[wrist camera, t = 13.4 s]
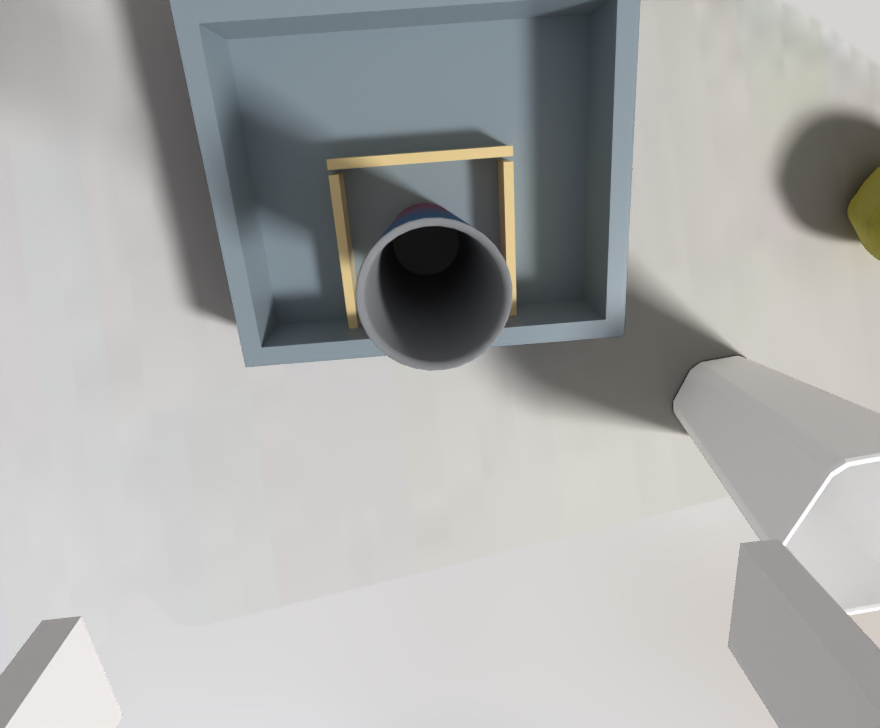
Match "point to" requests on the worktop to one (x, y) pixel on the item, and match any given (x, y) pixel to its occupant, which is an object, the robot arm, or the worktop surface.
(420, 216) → the cup
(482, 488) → the worktop surface
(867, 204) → the apple
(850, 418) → the cup
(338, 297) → the walled box
